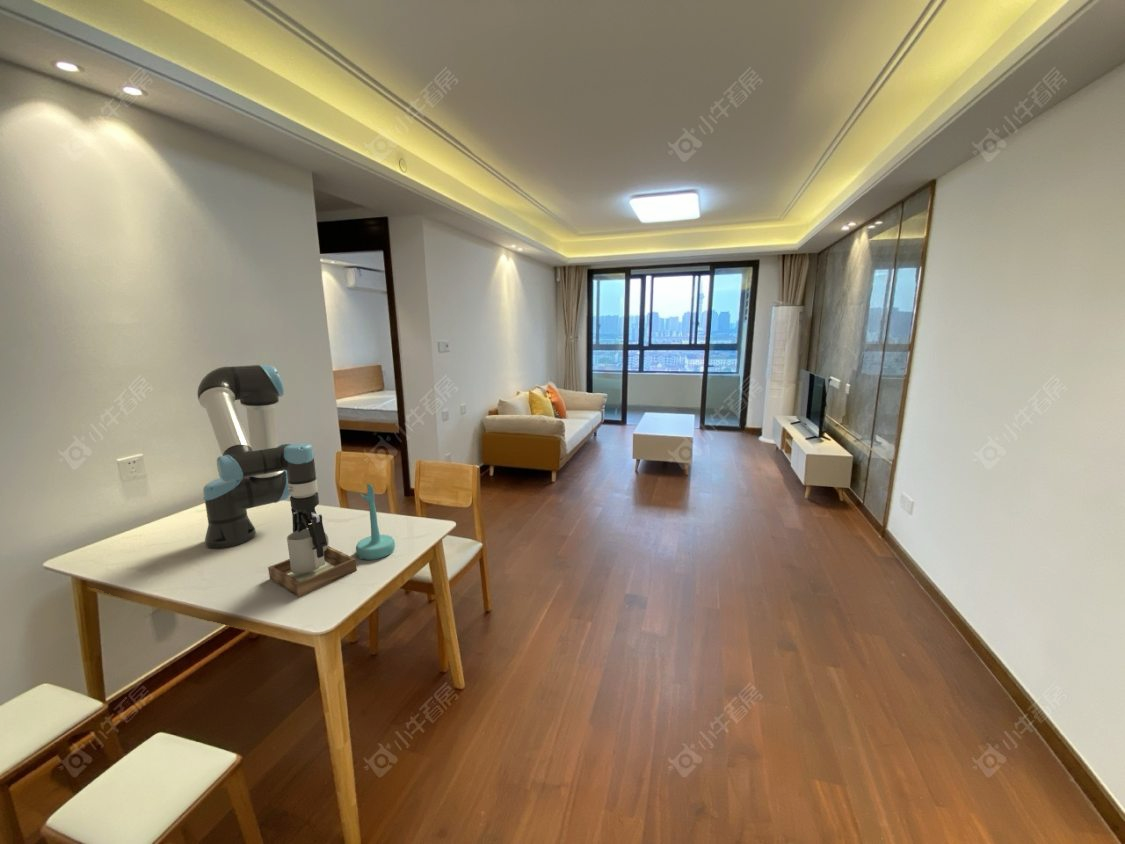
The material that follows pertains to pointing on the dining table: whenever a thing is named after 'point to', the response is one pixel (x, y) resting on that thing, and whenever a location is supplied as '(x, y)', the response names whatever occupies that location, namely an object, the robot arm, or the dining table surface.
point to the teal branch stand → (374, 535)
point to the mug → (302, 551)
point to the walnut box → (313, 573)
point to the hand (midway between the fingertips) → (312, 561)
